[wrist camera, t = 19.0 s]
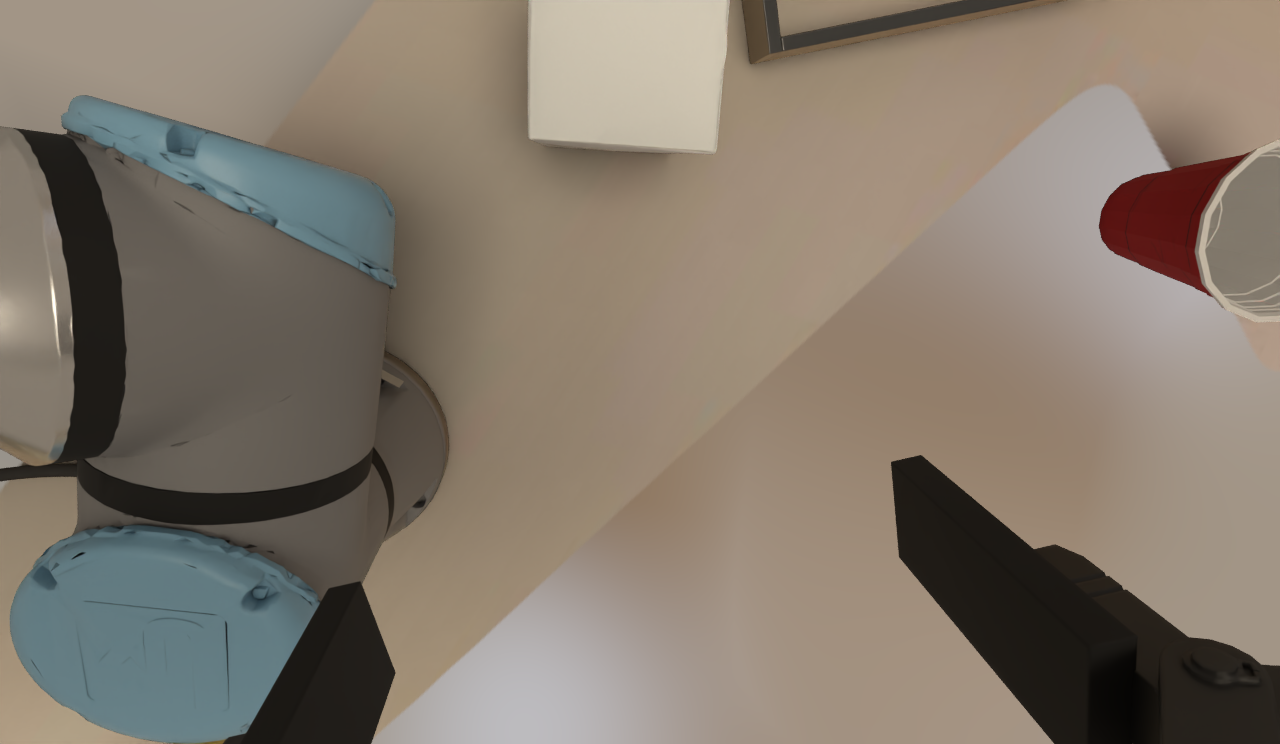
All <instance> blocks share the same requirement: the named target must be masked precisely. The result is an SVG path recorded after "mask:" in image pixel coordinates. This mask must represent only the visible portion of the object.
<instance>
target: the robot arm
mask: <svg viewBox="0 0 1280 744" xmlns="http://www.w3.org/2000/svg"><path fill="white" fill-rule="evenodd" d="M61 120H62V126H63V128H64V129H67V134H63V135H59V134H52V133H45V132H38V131H30V130H24V129H16V128H8V127H0V449H1V450H3V451H5V452H7V453H9V454H10V455H12V456H14V457H16V458H18V459H20V460H21V461H23V462H25V463H27V464H29V465H31V466H20V467H11V468H3V469H0V481H6V480H15V479H25V478H37V477H77V501H78V520H77V525H76V528H75V531H74V533H73V535H72V536H70V537H68V538H66V539H63V540H60V541H59V542H57V543H56V544H54V545H53V546H51V547H49V548H48V549H47V550H46V551H45V552H44V554H43V555H42V556H41V557H40V558H38V559H37V561H36V562H35V564H34V566H33V569H32V570H31V571H30V572H29V573H28V574H27V576H26V577H25V578H24V580H23V581H22V582H21V584H20V586H19V588H18V590H17V591H16V594H15V597H14V600H13V603H12V606H11V611H10V632H11V637H12V641H13V644H14V647H15V650H16V652H17V655H18V657H19V659H20V661H21V662H22V664H23V666H24V668H25V669H26V671H27V672H28V673H29V675H30V676H31V677H32V678H33V680H34V681H35V682H36V683H37V684H38V685H39V686H40V688H42V689H43V690H44V691H45V692H46V693H47V694H49V695H50V696H51V697H52V698H53V699H54V700H55V701H57V702H58V703H59V704H61V705H62V706H65V707H68V708H70V709H72V710H74V711H76V712H77V713H79V714H80V715H81V716H82V717H84V718H85V719H86V720H87V721H89V722H92V723H94V724H96V725H98V726H100V727H103V728H105V729H108V730H111V731H114V732H116V733H120V734H123V735H127V736H131V737H135V738H139V739H144V740H150V741H157V742H166V743H205V742H213V741H220V740H224V739H226V740H225V741H224V742H223V743H222V744H371V743H372V740H373V737H374V734H375V731H376V728H377V725H378V722H379V719H380V716H381V714H382V711H383V708H384V705H385V702H386V699H387V696H388V693H389V690H390V687H391V684H392V681H393V679H394V676H395V670H394V667H393V665H392V662H391V660H390V657H389V654H388V652H387V649H386V647H385V644H384V641H383V639H382V636H381V634H380V631H379V628H378V626H377V623H376V621H375V618H374V615H373V613H372V610H371V607H370V605H369V602H368V600H367V597H366V594H365V592H364V589H363V587H362V583H363V581H364V579H365V577H366V575H367V573H368V571H369V569H370V567H371V564H372V562H373V560H374V558H375V556H376V554H377V552H378V550H379V548H380V546H381V544H382V543H383V542H384V541H386V540H387V539H389V538H390V537H392V536H393V535H395V534H396V533H398V532H399V531H401V530H402V529H404V528H405V527H407V526H408V525H409V524H410V523H411V522H413V521H414V520H415V519H416V518H417V517H418V516H419V515H420V514H421V513H422V512H423V511H424V510H425V508H426V507H427V506H428V504H429V503H430V502H431V500H432V499H433V497H434V495H435V493H436V491H437V489H438V487H439V484H440V482H441V479H442V477H443V475H444V472H445V468H446V465H447V460H448V452H449V437H448V430H447V425H446V421H445V417H444V415H443V412H442V409H441V407H440V405H439V403H438V401H437V399H436V397H435V396H434V394H433V393H432V391H431V390H430V388H429V387H428V386H427V384H426V383H425V382H424V381H423V380H422V379H421V378H420V376H419V375H418V374H417V373H415V372H414V371H413V370H412V369H411V368H410V367H409V366H407V365H406V364H405V363H403V362H402V361H401V360H399V359H397V358H396V357H394V356H393V355H391V354H389V353H387V352H385V351H384V348H385V338H386V329H387V319H388V309H389V300H390V290H391V289H394V288H396V284H397V280H396V277H395V276H394V275H393V257H394V240H395V212H394V208H393V205H392V203H391V201H390V199H389V198H388V196H387V195H386V193H385V192H384V191H383V190H382V189H381V188H380V187H379V186H378V185H377V184H376V183H374V182H373V181H371V180H369V179H367V178H365V177H362V176H360V175H357V174H354V173H351V172H347V171H344V170H341V169H338V168H334V167H331V166H328V165H324V164H321V163H318V162H314V161H311V160H308V159H304V158H301V157H298V156H294V155H291V154H288V153H284V152H281V151H278V150H274V149H271V148H267V147H264V146H260V145H257V144H253V143H250V142H246V141H243V140H240V139H236V138H233V137H230V136H226V135H223V134H220V133H217V132H213V131H210V130H206V129H202V128H199V127H196V126H192V125H189V124H186V123H182V122H179V121H175V120H172V119H169V118H165V117H162V116H158V115H155V114H151V113H148V112H144V111H140V110H137V109H133V108H129V107H126V106H123V105H119V104H116V103H112V102H108V101H106V100H102V99H98V98H95V97H92V96H87V95H82V96H77V97H75V98H73V99H72V101H71V102H70V105H69V109H68V112H66V113H64V114H63V115H62V116H61ZM74 460H77V464H55V463H61V462H68V461H74ZM891 466H892V479H893V491H894V503H895V514H896V526H897V538H898V550H899V557H900V559H901V560H902V561H903V562H904V563H905V564H906V566H907V567H908V568H909V570H910V571H911V572H912V573H913V574H914V576H915V577H916V578H917V579H918V580H919V582H920V583H921V584H922V585H923V586H924V588H925V589H926V590H927V591H928V592H929V594H930V595H931V596H932V597H933V598H934V599H935V601H936V602H937V603H938V604H939V605H940V607H941V608H942V609H943V610H944V612H945V613H946V614H947V615H948V616H949V618H950V619H951V620H952V621H953V622H954V624H955V625H956V626H957V627H958V628H959V630H960V631H961V632H962V633H963V634H964V636H965V637H966V638H967V639H968V640H969V642H970V643H971V644H972V645H973V646H974V648H975V649H976V650H977V651H978V653H979V654H980V655H981V656H982V657H983V659H984V660H985V661H986V662H987V663H988V664H989V666H990V667H991V668H992V669H993V670H994V672H995V673H996V674H997V675H998V677H999V678H1000V679H1001V680H1002V681H1003V683H1004V684H1005V685H1006V686H1007V687H1008V689H1009V690H1010V691H1011V692H1012V693H1013V695H1015V697H1016V698H1017V699H1018V701H1019V702H1020V703H1021V704H1022V705H1023V706H1024V708H1025V709H1026V710H1027V711H1028V713H1029V714H1030V715H1031V716H1032V717H1033V719H1034V720H1035V721H1036V722H1037V723H1038V725H1039V726H1040V727H1041V728H1042V729H1043V731H1044V732H1045V733H1046V734H1047V735H1048V737H1049V738H1050V739H1051V740H1052V741H1053V743H1054V744H1280V666H1270V665H1261V664H1260V663H1259V662H1257V661H1256V660H1255V659H1254V658H1253V657H1251V656H1250V655H1248V654H1246V653H1244V652H1242V651H1240V650H1239V649H1237V648H1235V647H1233V646H1230V645H1227V644H1224V643H1220V642H1217V641H1214V640H1210V639H1200V638H1189V637H1187V636H1186V635H1185V634H1184V633H1182V632H1181V631H1180V630H1178V629H1177V628H1176V627H1174V626H1173V625H1172V624H1171V623H1169V622H1168V621H1167V620H1165V619H1164V618H1163V617H1161V616H1160V615H1159V614H1157V613H1156V612H1155V611H1154V610H1152V609H1151V608H1150V607H1148V606H1147V605H1146V604H1145V603H1143V602H1142V601H1141V600H1139V599H1138V598H1137V597H1136V596H1134V595H1133V594H1132V593H1130V592H1129V591H1128V590H1123V588H1122V586H1121V585H1120V584H1119V583H1117V582H1116V581H1115V580H1113V579H1112V578H1111V577H1110V576H1106V575H1105V573H1104V572H1103V571H1102V570H1100V569H1099V568H1098V567H1096V566H1095V565H1094V564H1092V563H1091V562H1090V561H1089V560H1087V559H1086V558H1085V557H1084V556H1081V555H1079V554H1076V553H1074V552H1072V551H1069V550H1067V549H1065V548H1062V547H1060V546H1058V545H1051V546H1046V547H1042V548H1038V549H1033V548H1031V547H1030V546H1029V545H1028V544H1027V543H1026V542H1024V541H1023V540H1022V539H1021V538H1020V537H1018V536H1017V535H1016V534H1015V533H1014V532H1012V531H1011V530H1010V529H1009V528H1008V527H1006V526H1005V525H1004V524H1003V523H1002V522H1000V521H999V520H998V519H997V518H996V517H994V516H993V515H992V514H991V513H990V512H988V511H987V510H986V509H985V508H984V507H982V506H981V505H980V504H979V503H978V502H976V501H975V500H974V499H973V498H972V497H971V496H969V495H968V494H967V493H965V491H963V490H962V489H961V488H960V487H958V486H957V485H956V484H955V483H954V482H952V481H951V480H950V479H949V478H947V476H945V475H944V474H943V473H942V472H941V471H940V470H938V469H937V468H936V467H935V466H933V465H932V464H931V463H930V462H929V461H928V460H926V459H925V458H924V457H923V456H921V455H919V456H915V457H911V458H906V459H902V460H897V461H893V462H891Z"/></svg>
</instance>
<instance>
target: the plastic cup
mask: <svg viewBox="0 0 1280 744" xmlns="http://www.w3.org/2000/svg"><path fill="white" fill-rule="evenodd" d="M1099 229H1100V233H1101V238H1102V240H1103V242H1104V243H1105V244H1106V246H1107V247H1108V248H1109V249H1110V250H1111V251H1113V252H1114V253H1115V254H1117V255H1120V256H1122V257H1124V258H1126V259H1129V260H1132V261H1134V262H1137V263H1139V265H1141V266H1144V267H1146V268H1148V269H1151V270H1153V271H1155V272H1158V273H1160V274H1163V275H1165V276H1168V277H1170V278H1173V279H1175V280H1178V281H1180V282H1183V283H1185V284H1188V285H1190V286H1193V287H1195V288H1196V289H1198V290H1200V291H1202V292H1204V293H1207V295H1209V296H1211V297H1213V298H1214V299H1215V300H1216V301H1217V302H1218V303H1219V305H1220V306H1221V307H1222V308H1224V309H1226V310H1228V311H1230V312H1232V313H1235V314H1237V315H1240V316H1242V317H1244V318H1247V319H1249V320H1252V321H1254V322H1279V321H1280V139H1278V140H1276V141H1274V142H1271V143H1269V144H1267V145H1265V146H1262V147H1260V148H1258V149H1256V150H1253V151H1251V152H1249V153H1246V154H1244V155H1240V156H1235V157H1230V158H1225V159H1220V160H1215V161H1209V162H1204V163H1199V164H1194V165H1189V166H1184V167H1179V168H1174V169H1172V170H1170V171H1164V172H1158V173H1152V174H1146V175H1142V176H1140V177H1137V178H1134V179H1132V180H1130V181H1128V182H1125V183H1123V184H1121V185H1120V186H1119V187H1118V188H1117V189H1116V190H1115V191H1114V192H1113V193H1112V194H1111V195H1110V196H1109V198H1108V199H1107V201H1106V203H1105V205H1104V207H1103V209H1102V211H1101V217H1100V223H1099Z"/></svg>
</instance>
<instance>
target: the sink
mask: <svg viewBox="0 0 1280 744" xmlns="http://www.w3.org/2000/svg"><path fill="white" fill-rule="evenodd" d="M1062 1H1067V0H962V1H957V2H952V3H947V4H942V5H937V6H932V7H927V8H922V9H917V10H912V11H907V12H902V13H897V14H892V15H887V16H882V17H877V18H872V19H868V20H863V21H858V22H853V23H848V24H843V25H838V26H833V27H828V28H823V29H818V30H813V31H808V32H803V33H798V34H793V35H788V36H783V37H781V36H780V27H779V18H778V10H777V1H776V0H742V5H743V13H744V20H745V28H746V35H747V43H748V51H749V58H750V64H755V63H760V62H765V61H770V60H775V59H780V58H785V57H790V56H795V55H800V54H805V53H810V52H815V51H820V50H825V49H830V48H834V47H839V46H844V45H849V44H854V43H859V42H864V41H869V40H874V39H879V38H884V37H889V36H894V35H899V34H904V33H909V32H914V31H919V30H924V29H929V28H934V27H938V26H943V25H948V24H953V23H958V22H963V21H968V20H973V19H978V18H983V17H988V16H993V15H998V14H1003V13H1008V12H1013V11H1018V10H1023V9H1028V8H1033V7H1038V6H1043V5H1047V4H1052V3H1058V2H1062Z"/></svg>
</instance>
